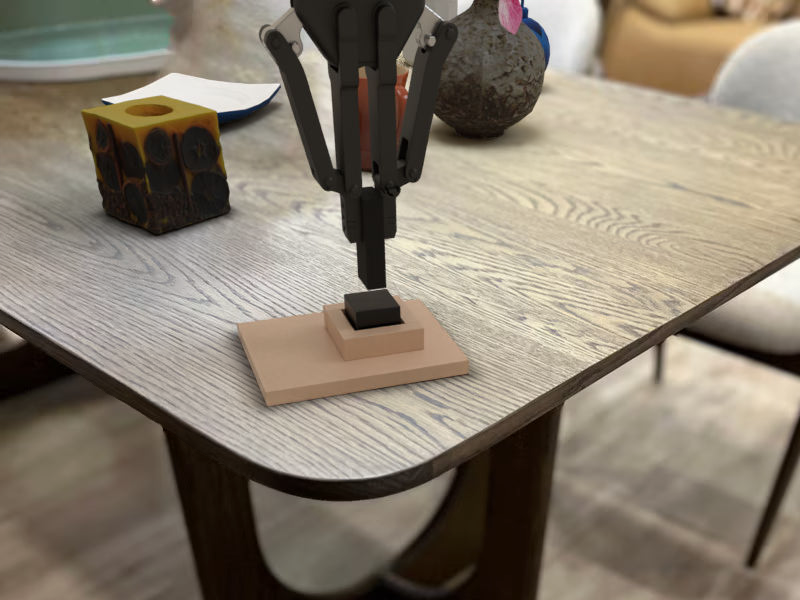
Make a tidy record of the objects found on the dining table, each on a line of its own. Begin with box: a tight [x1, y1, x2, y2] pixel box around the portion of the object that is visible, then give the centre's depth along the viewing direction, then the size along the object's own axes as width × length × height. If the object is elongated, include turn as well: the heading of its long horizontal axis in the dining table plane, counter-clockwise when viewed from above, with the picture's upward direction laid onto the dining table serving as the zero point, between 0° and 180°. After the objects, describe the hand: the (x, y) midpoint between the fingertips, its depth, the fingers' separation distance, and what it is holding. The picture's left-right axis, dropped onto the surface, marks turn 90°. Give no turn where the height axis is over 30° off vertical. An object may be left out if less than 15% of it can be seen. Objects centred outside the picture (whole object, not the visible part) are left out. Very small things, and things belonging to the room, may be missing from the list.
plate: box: [101, 72, 282, 125], centre depth 122 cm, size 20×20×3 cm
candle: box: [80, 95, 232, 235], centre depth 88 cm, size 10×10×10 cm
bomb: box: [520, 0, 551, 72], centre depth 132 cm, size 10×11×15 cm
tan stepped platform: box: [236, 294, 470, 407], centre depth 67 cm, size 16×12×3 cm
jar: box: [401, 0, 459, 67], centre depth 144 cm, size 10×10×18 cm
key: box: [343, 288, 401, 331], centre depth 66 cm, size 4×4×2 cm
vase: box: [433, 0, 546, 140], centre depth 107 cm, size 17×17×30 cm
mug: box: [358, 64, 410, 172], centre depth 101 cm, size 12×9×10 cm
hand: (372, 282), depth 65 cm, fingers closed
